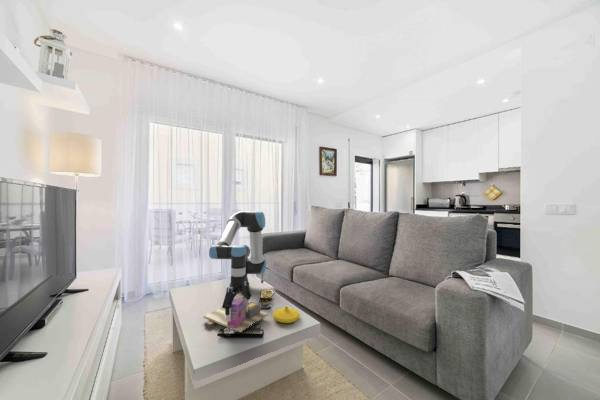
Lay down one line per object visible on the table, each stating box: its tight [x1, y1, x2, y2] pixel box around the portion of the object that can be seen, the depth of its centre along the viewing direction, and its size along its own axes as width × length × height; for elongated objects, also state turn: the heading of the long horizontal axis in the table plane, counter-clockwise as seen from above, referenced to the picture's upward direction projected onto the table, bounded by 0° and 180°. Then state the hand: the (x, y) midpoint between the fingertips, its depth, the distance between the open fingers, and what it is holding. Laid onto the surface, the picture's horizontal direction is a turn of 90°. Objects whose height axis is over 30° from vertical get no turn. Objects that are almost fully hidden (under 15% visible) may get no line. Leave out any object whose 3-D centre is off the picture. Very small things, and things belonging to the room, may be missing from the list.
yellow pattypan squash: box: [272, 306, 301, 324], centre depth 142 cm, size 16×16×7 cm
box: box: [227, 295, 247, 328], centre depth 130 cm, size 10×6×12 cm, turn 168°
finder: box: [246, 301, 261, 319], centre depth 140 cm, size 9×7×5 cm
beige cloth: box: [203, 307, 269, 333], centre depth 138 cm, size 25×28×4 cm
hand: (237, 315), depth 130 cm, fingers open, 12 cm apart
